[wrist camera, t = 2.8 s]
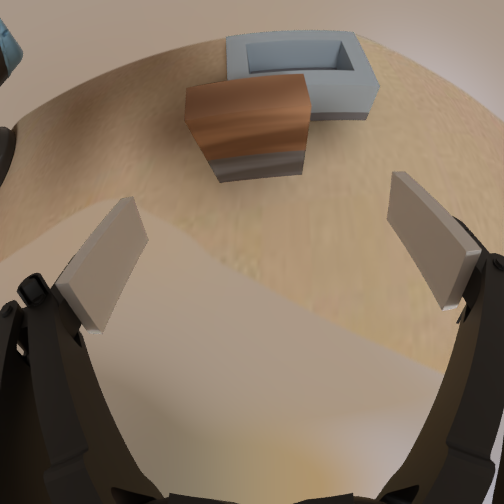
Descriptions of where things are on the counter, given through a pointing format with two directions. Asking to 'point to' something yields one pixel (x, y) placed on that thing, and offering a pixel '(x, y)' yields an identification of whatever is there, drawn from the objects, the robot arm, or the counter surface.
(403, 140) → the counter surface
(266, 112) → the brown wood block
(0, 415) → the robot arm
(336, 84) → the frame block
